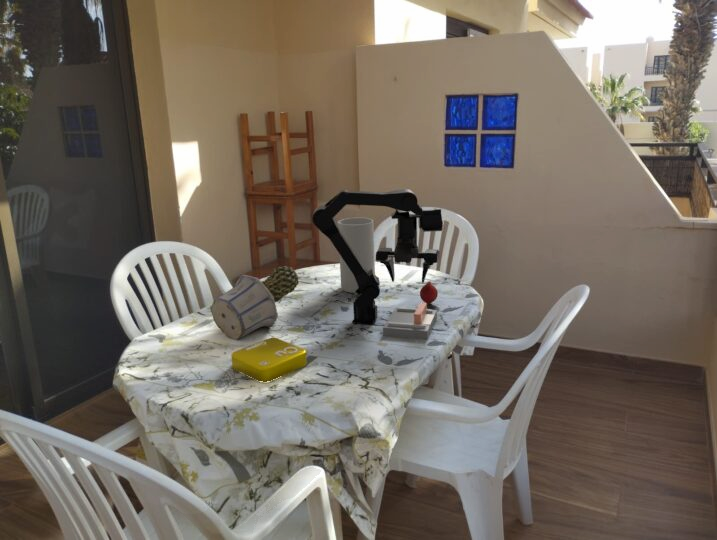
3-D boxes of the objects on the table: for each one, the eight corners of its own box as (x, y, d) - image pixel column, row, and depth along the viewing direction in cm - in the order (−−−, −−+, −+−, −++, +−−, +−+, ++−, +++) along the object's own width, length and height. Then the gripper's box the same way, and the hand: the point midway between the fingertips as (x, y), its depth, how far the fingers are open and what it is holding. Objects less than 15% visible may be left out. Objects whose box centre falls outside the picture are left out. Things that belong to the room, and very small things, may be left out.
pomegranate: (431, 308, 186) (431, 285, 184) (416, 305, 189) (416, 282, 187) (440, 303, 190) (440, 280, 188) (425, 300, 194) (425, 277, 192)
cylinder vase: (335, 286, 212) (332, 220, 205) (366, 281, 217) (363, 216, 210) (349, 296, 201) (346, 226, 194) (381, 290, 206) (379, 222, 199)
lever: (414, 323, 166) (413, 314, 165) (420, 311, 175) (420, 302, 175) (420, 323, 166) (420, 314, 165) (426, 311, 175) (426, 302, 174)
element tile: (274, 350, 160) (273, 334, 159) (310, 365, 150) (309, 348, 149) (229, 368, 150) (227, 352, 149) (264, 386, 140) (263, 368, 139)
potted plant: (236, 301, 156) (307, 252, 176) (196, 293, 167) (267, 247, 187) (255, 353, 164) (321, 300, 183) (216, 342, 175) (282, 293, 194)
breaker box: (383, 335, 166) (382, 325, 165) (396, 314, 182) (395, 305, 181) (427, 339, 163) (427, 328, 162) (436, 317, 178) (436, 307, 177)
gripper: (370, 237, 166) (371, 288, 170) (434, 239, 160) (434, 292, 165) (379, 229, 176) (380, 277, 180) (440, 230, 171) (439, 280, 175)
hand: (408, 282), depth 175 cm, fingers open, 9 cm apart
